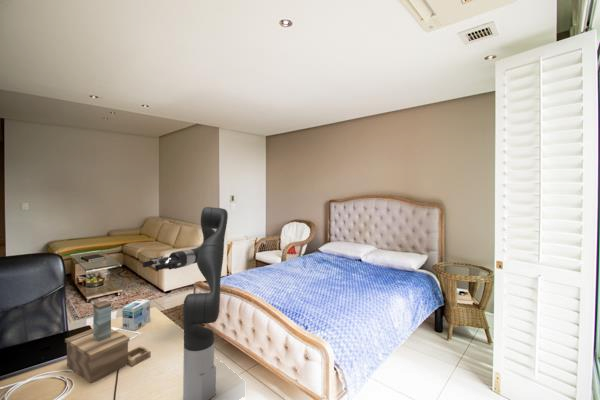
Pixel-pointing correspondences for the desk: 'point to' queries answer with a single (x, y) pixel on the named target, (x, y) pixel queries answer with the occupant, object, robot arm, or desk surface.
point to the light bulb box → (136, 314)
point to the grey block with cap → (101, 320)
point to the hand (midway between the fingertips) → (149, 266)
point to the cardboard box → (101, 354)
